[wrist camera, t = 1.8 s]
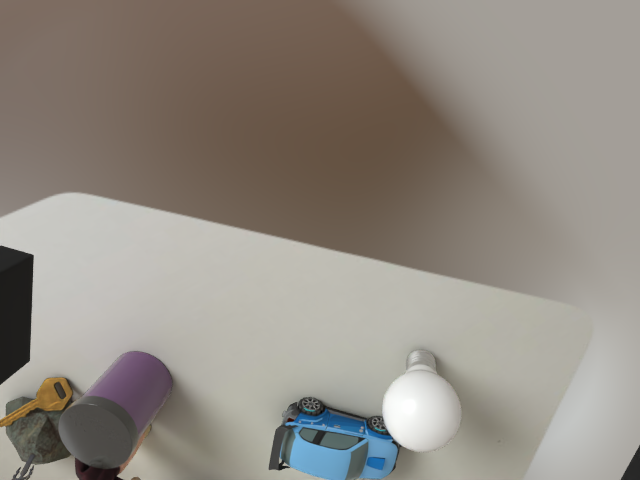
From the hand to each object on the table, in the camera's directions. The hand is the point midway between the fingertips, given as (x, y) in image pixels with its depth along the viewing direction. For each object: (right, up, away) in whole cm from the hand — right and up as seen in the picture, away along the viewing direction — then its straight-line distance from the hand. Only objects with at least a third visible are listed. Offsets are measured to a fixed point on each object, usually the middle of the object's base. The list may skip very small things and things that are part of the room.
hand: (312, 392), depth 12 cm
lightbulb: (+10, -8, +41) cm, 42 cm away
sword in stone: (-31, -18, +51) cm, 62 cm away
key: (-31, -15, +48) cm, 59 cm away
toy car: (+2, -16, +45) cm, 48 cm away
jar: (-19, -12, +47) cm, 52 cm away
